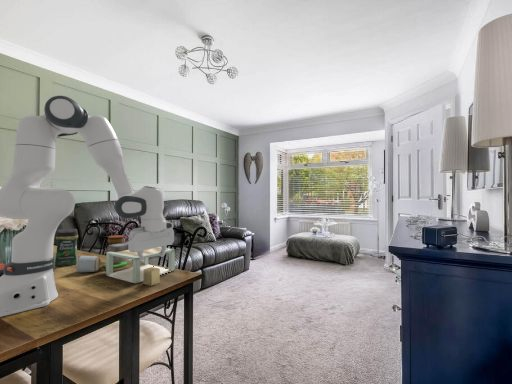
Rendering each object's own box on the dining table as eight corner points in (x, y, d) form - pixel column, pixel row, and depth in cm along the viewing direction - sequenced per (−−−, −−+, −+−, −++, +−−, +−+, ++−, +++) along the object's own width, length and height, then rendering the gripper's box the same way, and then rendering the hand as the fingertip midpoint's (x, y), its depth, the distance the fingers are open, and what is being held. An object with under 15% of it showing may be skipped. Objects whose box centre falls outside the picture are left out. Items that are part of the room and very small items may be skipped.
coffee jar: (53, 267, 134) (53, 230, 134) (57, 263, 141) (57, 228, 141) (76, 265, 138) (76, 229, 139) (78, 261, 145) (79, 227, 146)
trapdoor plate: (137, 263, 114) (137, 251, 114) (105, 256, 126) (105, 245, 126) (167, 255, 128) (167, 245, 128) (135, 250, 140) (135, 240, 140)
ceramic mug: (96, 273, 124) (96, 256, 125) (76, 274, 122) (76, 257, 122) (103, 267, 135) (103, 252, 135) (84, 268, 132) (85, 253, 133)
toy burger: (95, 266, 136) (96, 237, 136) (118, 261, 147) (119, 234, 147) (110, 269, 130) (110, 239, 130) (133, 264, 141) (133, 235, 142)
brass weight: (151, 286, 108) (151, 271, 108) (143, 283, 110) (143, 269, 110) (159, 283, 111) (159, 268, 111) (151, 281, 114) (151, 267, 114)
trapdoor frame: (135, 283, 110) (135, 258, 110) (106, 275, 121) (106, 252, 121) (174, 271, 128) (174, 249, 129) (146, 265, 139) (146, 244, 139)
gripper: (135, 229, 100) (135, 266, 101) (176, 223, 118) (176, 254, 118) (124, 228, 103) (124, 263, 104) (166, 222, 121) (166, 252, 121)
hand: (152, 258), depth 111 cm, fingers open, 8 cm apart
